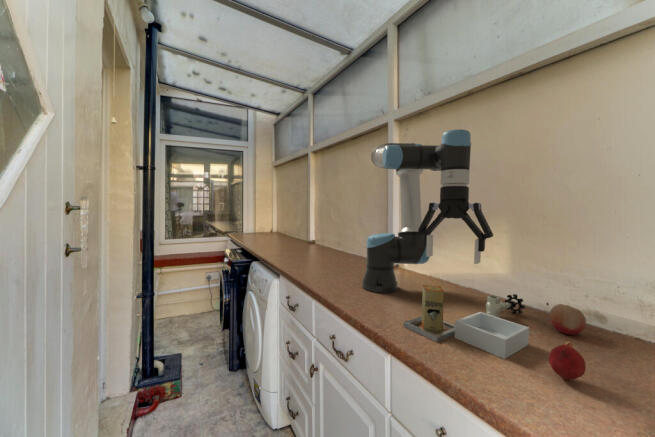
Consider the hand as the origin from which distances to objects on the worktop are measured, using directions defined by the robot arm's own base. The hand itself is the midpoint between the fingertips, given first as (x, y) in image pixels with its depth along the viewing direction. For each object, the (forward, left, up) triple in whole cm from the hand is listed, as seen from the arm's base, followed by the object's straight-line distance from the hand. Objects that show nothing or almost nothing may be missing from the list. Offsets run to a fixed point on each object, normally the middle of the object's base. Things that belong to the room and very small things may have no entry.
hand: (451, 259), depth 82 cm
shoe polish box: (-2, -5, -20) cm, 21 cm away
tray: (+11, +2, -20) cm, 23 cm away
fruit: (+20, +26, -20) cm, 38 cm away
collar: (-2, -5, -20) cm, 21 cm away
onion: (+28, -2, -20) cm, 35 cm away
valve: (+4, +23, -20) cm, 31 cm away
